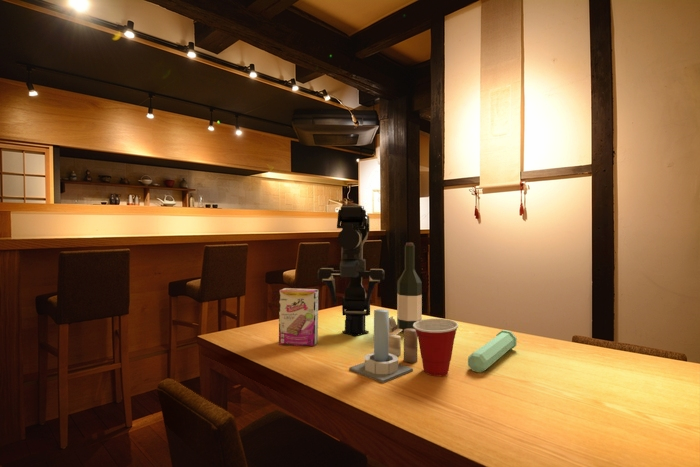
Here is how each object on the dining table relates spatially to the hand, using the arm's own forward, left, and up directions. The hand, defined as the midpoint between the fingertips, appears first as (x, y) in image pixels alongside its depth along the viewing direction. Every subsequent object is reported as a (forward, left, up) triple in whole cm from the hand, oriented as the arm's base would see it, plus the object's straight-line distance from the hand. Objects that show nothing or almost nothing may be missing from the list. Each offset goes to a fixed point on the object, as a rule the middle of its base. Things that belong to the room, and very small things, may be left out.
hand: (351, 304), depth 108 cm
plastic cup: (-4, +26, -13) cm, 29 cm away
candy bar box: (+7, -15, -13) cm, 22 cm away
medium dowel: (-6, +17, -13) cm, 22 cm away
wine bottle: (-30, -2, -13) cm, 33 cm away
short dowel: (-6, +11, -13) cm, 18 cm away
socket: (+5, +16, -13) cm, 21 cm away
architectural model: (-16, +1, -14) cm, 22 cm away
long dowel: (+5, +16, -13) cm, 21 cm away
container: (-23, +31, -14) cm, 41 cm away
